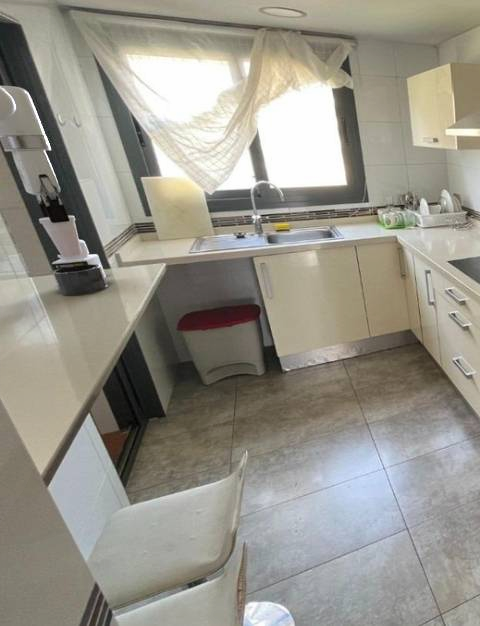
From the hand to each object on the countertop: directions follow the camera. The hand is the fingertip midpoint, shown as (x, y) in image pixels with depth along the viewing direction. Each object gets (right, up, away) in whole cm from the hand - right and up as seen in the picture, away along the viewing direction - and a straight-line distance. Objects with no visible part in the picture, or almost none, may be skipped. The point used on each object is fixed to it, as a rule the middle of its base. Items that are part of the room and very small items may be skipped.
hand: (57, 220), depth 114 cm
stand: (0, -17, +7) cm, 19 cm away
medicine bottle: (-6, -15, +13) cm, 21 cm away
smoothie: (0, -9, +3) cm, 9 cm away
